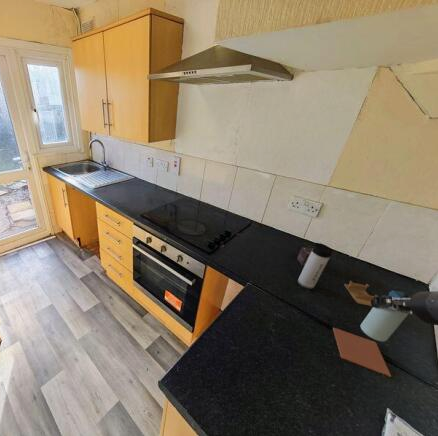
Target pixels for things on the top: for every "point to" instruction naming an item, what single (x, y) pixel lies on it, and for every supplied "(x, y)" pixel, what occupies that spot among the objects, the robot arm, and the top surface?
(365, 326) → the pale blue bottle
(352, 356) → the plate
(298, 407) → the top surface
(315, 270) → the travel mug
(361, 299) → the drying stand
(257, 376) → the top surface
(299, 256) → the box
